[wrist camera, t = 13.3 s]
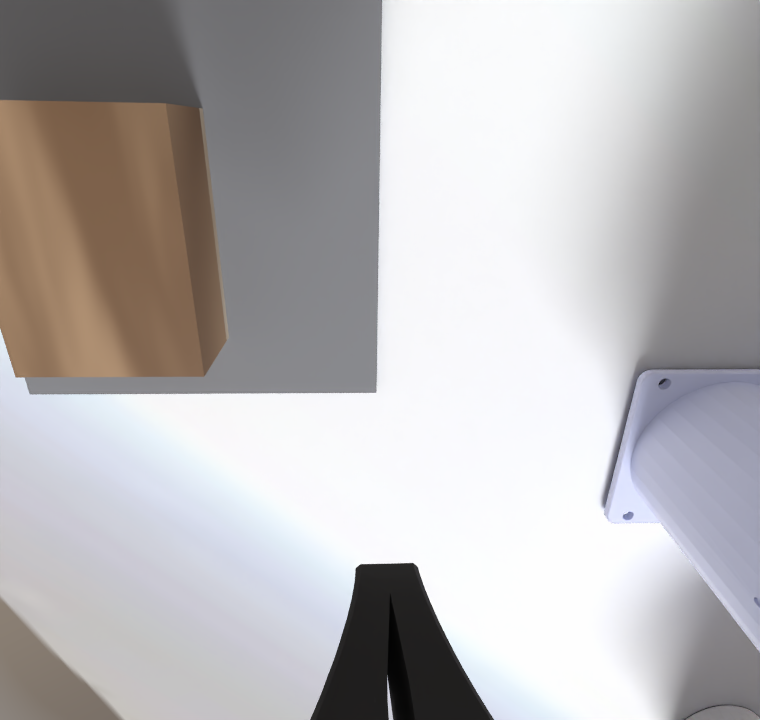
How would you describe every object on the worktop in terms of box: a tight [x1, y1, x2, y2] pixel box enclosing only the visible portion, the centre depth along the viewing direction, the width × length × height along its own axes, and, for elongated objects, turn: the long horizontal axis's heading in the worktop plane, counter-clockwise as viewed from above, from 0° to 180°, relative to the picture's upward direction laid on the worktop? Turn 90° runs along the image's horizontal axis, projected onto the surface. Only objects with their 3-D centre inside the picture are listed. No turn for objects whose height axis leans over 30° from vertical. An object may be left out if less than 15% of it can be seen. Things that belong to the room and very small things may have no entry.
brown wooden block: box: [0, 100, 229, 377], centre depth 16 cm, size 4×8×6 cm
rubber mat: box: [0, 0, 382, 394], centre depth 18 cm, size 14×14×1 cm
